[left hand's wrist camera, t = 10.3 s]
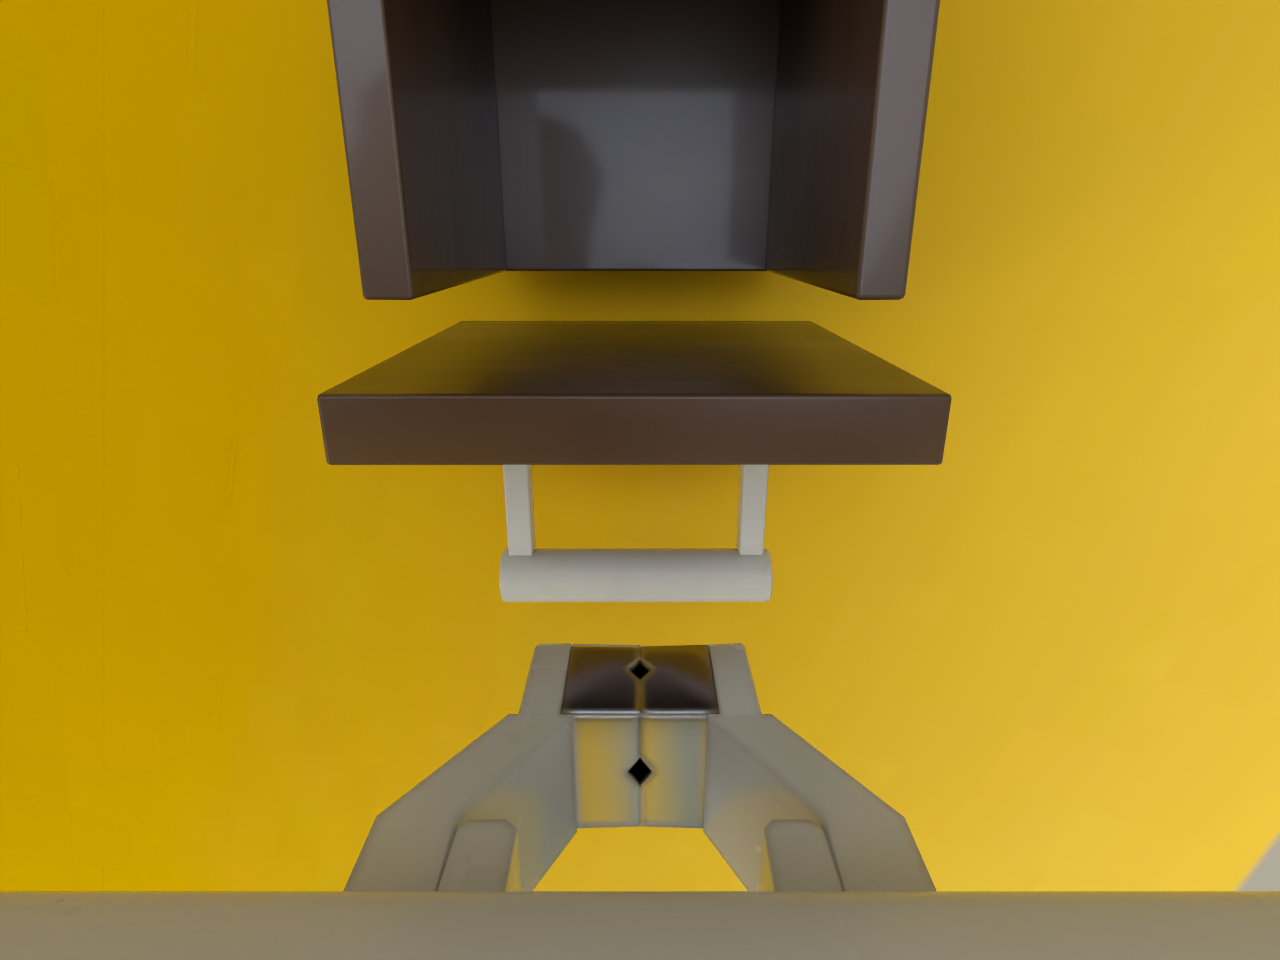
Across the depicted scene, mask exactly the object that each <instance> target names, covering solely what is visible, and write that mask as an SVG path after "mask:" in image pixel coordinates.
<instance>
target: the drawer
mask: <svg viewBox="0 0 1280 960" xmlns="http://www.w3.org/2000/svg"><path fill="white" fill-rule="evenodd" d="M939 4H940V0H327V5H328V13H329V21H330V29H331V38H332V46H333V54H334V62H335V70H336V78H337V86H338V94H339V103H340V111H341V119H342V127H343V135H344V143H345V151H346V160H347V168H348V176H349V184H350V192H351V200H352V208H353V216H354V225H355V233H356V241H357V249H358V257H359V265H360V273H361V281H362V290H363V296H364V298H365V299H367V300H411V299H415V298H418V297H421V296H425V295H428V294H431V293H434V292H438V291H441V290H444V289H447V288H451V287H454V286H457V285H461V284H464V283H467V282H470V281H474V280H477V279H480V278H483V277H487V276H490V275H493V274H496V273H500V272H503V271H769V272H772V273H776V274H779V275H782V276H785V277H788V278H792V279H795V280H798V281H801V282H804V283H808V284H811V285H814V286H817V287H820V288H823V289H827V290H830V291H833V292H836V293H839V294H843V295H846V296H849V297H852V298H855V299H859V300H899V299H902V298H903V297H904V295H905V290H906V282H907V274H908V265H909V257H910V248H911V240H912V232H913V223H914V215H915V206H916V198H917V190H918V181H919V173H920V164H921V156H922V147H923V139H924V131H925V122H926V114H927V105H928V97H929V89H930V80H931V72H932V63H933V55H934V46H935V38H936V30H937V21H938V13H939ZM317 400H318V406H319V413H320V420H321V426H322V433H323V440H324V446H325V453H326V459H327V463H328V464H330V465H503V478H504V493H505V508H506V523H507V539H508V549H505V550H504V551H503V553H502V556H501V561H500V572H499V585H500V594H501V598H502V600H503V601H504V602H768V601H769V600H770V597H771V592H772V563H771V557H770V554H769V551H768V550H767V549H763V547H764V531H765V515H766V499H767V483H768V467H769V465H938V464H941V463H942V459H943V452H944V445H945V438H946V432H947V425H948V418H949V411H950V404H951V395H950V394H948V393H946V392H944V391H942V390H940V389H938V388H936V387H934V386H933V385H931V384H929V383H927V382H925V381H923V380H921V379H919V378H917V377H915V376H914V375H912V374H910V373H908V372H906V371H904V370H902V369H900V368H898V367H896V366H895V365H893V364H891V363H889V362H887V361H885V360H883V359H881V358H879V357H877V356H876V355H874V354H872V353H870V352H868V351H866V350H864V349H862V348H860V347H859V346H857V345H855V344H853V343H851V342H849V341H847V340H845V339H843V338H841V337H840V336H838V335H836V334H834V333H832V332H830V331H828V330H826V329H824V328H822V327H821V326H819V325H817V324H815V323H813V322H811V321H461V322H459V323H457V324H455V325H453V326H451V327H449V328H447V329H445V330H443V331H441V332H439V333H438V334H436V335H434V336H432V337H430V338H428V339H426V340H424V341H422V342H420V343H418V344H416V345H414V346H412V347H410V348H408V349H406V350H405V351H403V352H401V353H399V354H397V355H395V356H393V357H391V358H389V359H387V360H385V361H383V362H381V363H379V364H377V365H375V366H373V367H372V368H370V369H368V370H366V371H364V372H362V373H360V374H358V375H356V376H354V377H352V378H350V379H348V380H346V381H344V382H342V383H341V384H339V385H337V386H335V387H333V388H331V389H329V390H327V391H325V392H323V393H321V394H319V395H318V398H317ZM531 465H740V484H739V505H738V525H737V548H738V549H534V548H535V526H534V507H533V487H532V468H531Z"/></svg>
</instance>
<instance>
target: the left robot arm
mask: <svg viewBox="0 0 1280 960" xmlns="http://www.w3.org/2000/svg"><path fill="white" fill-rule="evenodd" d="M635 826H643V827H679V828H704V829H703V831H704V833H705V834H706V835H707V837H708V838H709V839H710V841H711V842H712V843H713V845H714V846H715V847H716V849H717V850H718V851H719V853H720V854H721V855H722V857H723V858H724V859H725V861H726V862H727V863H728V865H729V866H730V867H731V869H732V870H733V871H734V873H735V874H736V875H737V877H738V878H739V879H740V881H741V882H742V883H743V885H744V886H745V887H746V889H747V890H748V891H724V892H532V891H533V889H534V888H535V887H536V885H537V884H538V883H539V881H540V880H541V879H542V877H543V876H544V875H545V873H546V872H547V871H548V869H549V868H550V867H551V865H552V864H553V863H554V861H555V860H556V859H557V857H558V856H559V855H560V853H561V852H562V851H563V849H564V848H565V847H566V845H567V844H568V843H569V841H570V840H571V839H572V837H573V836H574V835H575V833H576V832H577V828H601V827H635ZM0 960H1280V891H1085V892H937V891H936V889H935V886H934V884H933V882H932V880H931V877H930V875H929V873H928V870H927V868H926V866H925V864H924V861H923V859H922V857H921V854H920V852H919V850H918V848H917V845H916V843H915V841H914V838H913V836H912V834H911V831H910V829H909V827H908V825H907V822H906V820H905V818H904V817H903V816H902V815H900V814H899V813H898V812H897V811H895V810H894V809H893V808H891V807H890V806H889V805H888V804H886V803H885V802H884V801H882V800H881V799H880V798H879V797H877V796H876V795H875V794H873V793H872V792H871V791H870V790H868V789H867V788H866V787H864V786H863V785H862V784H861V783H859V782H858V781H857V780H855V779H854V778H853V777H852V776H850V775H849V774H848V773H846V772H845V771H844V770H843V769H841V768H840V767H839V766H837V765H836V764H835V763H834V762H832V761H831V760H830V759H828V758H827V757H826V756H825V755H823V754H822V753H821V752H819V751H818V750H817V749H816V748H814V747H813V746H812V745H810V744H809V743H808V742H807V741H805V740H804V739H803V738H801V737H800V736H799V735H798V734H796V733H795V732H794V731H792V730H791V729H790V728H789V727H787V726H786V725H785V724H783V723H782V722H781V721H779V720H778V719H777V718H776V717H774V716H773V715H771V714H761V710H760V706H759V702H758V698H757V694H756V690H755V686H754V682H753V678H752V674H751V670H750V666H749V662H748V658H747V654H746V650H745V646H744V645H742V644H741V643H736V644H709V645H682V646H640V645H598V644H573V645H571V644H538V645H537V646H536V648H535V649H534V653H533V657H532V661H531V665H530V669H529V673H528V677H527V682H526V686H525V690H524V694H523V698H522V702H521V706H520V710H519V714H509V715H507V716H506V717H504V718H503V719H502V720H501V721H499V722H498V723H497V724H495V725H494V726H493V727H491V728H490V729H489V730H488V731H486V732H485V733H484V734H482V735H481V736H480V737H479V738H477V739H476V740H475V741H473V742H472V743H471V744H469V745H468V746H467V747H466V748H464V749H463V750H462V751H460V752H459V753H458V754H457V755H455V756H454V757H453V758H451V759H450V760H449V761H447V762H446V763H445V764H444V765H442V766H441V767H440V768H438V769H437V770H436V771H435V772H433V773H432V774H431V775H429V776H428V777H427V778H425V779H424V780H423V781H422V782H420V783H419V784H418V785H416V786H415V787H414V788H413V789H411V790H410V791H409V792H407V793H406V794H405V795H403V796H402V797H401V798H400V799H398V800H397V801H396V802H394V803H393V804H392V805H391V806H389V807H388V808H387V809H385V810H384V811H383V812H382V813H380V814H379V815H378V816H376V819H375V821H374V823H373V825H372V828H371V830H370V832H369V834H368V837H367V839H366V841H365V843H364V846H363V848H362V850H361V852H360V855H359V857H358V859H357V862H356V864H355V866H354V868H353V871H352V873H351V875H350V877H349V880H348V882H347V884H346V886H345V889H344V891H343V892H216V891H0Z"/></svg>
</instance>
